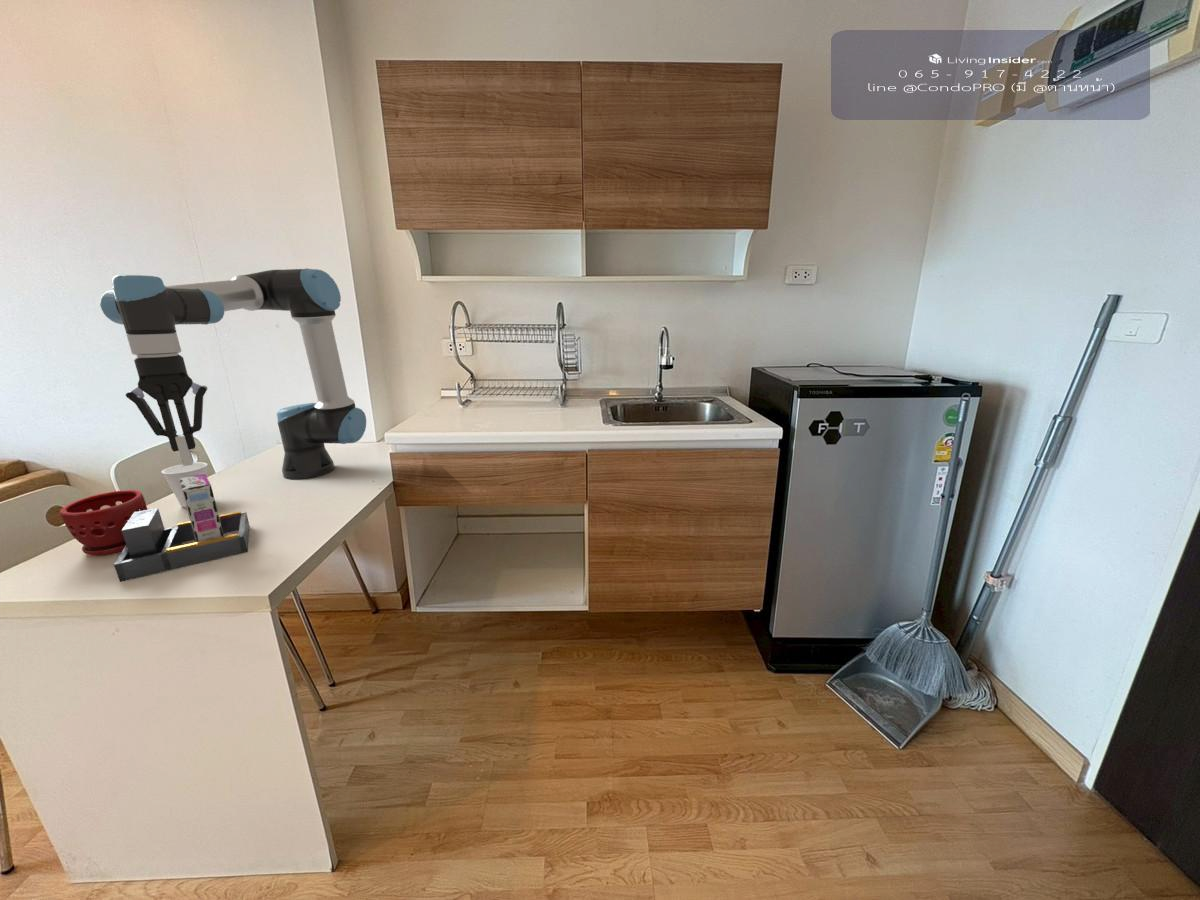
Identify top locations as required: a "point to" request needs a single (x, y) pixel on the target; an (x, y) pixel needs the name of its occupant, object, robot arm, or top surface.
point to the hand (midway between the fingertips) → (188, 463)
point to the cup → (179, 472)
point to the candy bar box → (201, 507)
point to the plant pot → (102, 520)
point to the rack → (175, 544)
